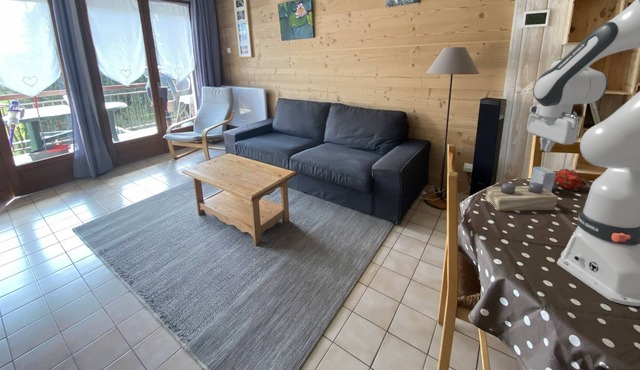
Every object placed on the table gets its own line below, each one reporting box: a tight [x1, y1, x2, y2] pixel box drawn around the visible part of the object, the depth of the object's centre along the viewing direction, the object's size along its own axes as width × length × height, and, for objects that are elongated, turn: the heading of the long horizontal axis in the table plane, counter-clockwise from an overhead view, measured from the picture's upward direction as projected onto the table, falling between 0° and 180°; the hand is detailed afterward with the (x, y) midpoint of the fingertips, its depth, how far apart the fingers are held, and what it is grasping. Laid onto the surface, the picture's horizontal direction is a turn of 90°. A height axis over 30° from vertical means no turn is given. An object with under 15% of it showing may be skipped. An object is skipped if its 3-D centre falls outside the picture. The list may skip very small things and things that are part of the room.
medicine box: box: [529, 166, 557, 193], centre depth 129 cm, size 8×4×9 cm, turn 179°
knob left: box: [500, 182, 516, 194], centre depth 118 cm, size 4×4×7 cm
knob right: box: [528, 182, 544, 193], centre depth 117 cm, size 4×4×7 cm
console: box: [484, 185, 559, 212], centre depth 118 cm, size 10×20×5 cm, turn 90°
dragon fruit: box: [554, 168, 588, 192], centre depth 130 cm, size 8×8×12 cm
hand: (545, 150), depth 111 cm, fingers closed
